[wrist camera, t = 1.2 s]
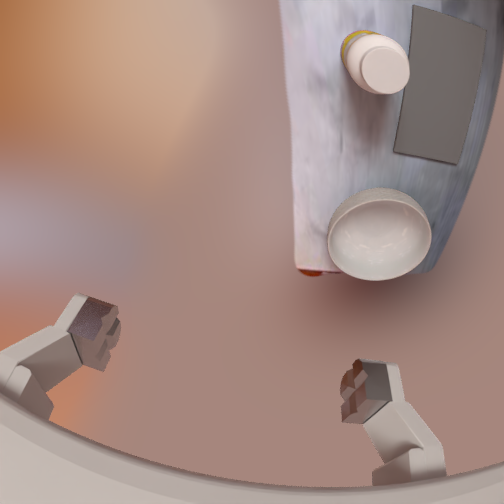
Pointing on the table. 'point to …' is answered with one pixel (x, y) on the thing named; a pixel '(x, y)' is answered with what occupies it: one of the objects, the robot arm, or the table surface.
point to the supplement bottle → (375, 62)
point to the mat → (439, 85)
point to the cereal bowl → (378, 234)
